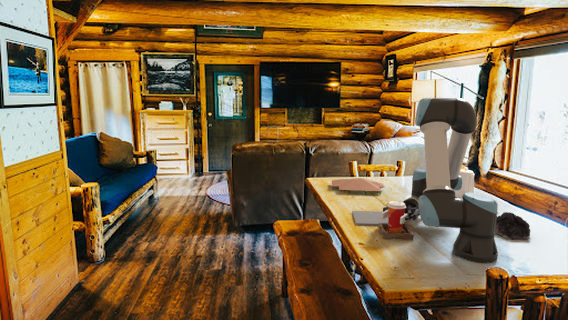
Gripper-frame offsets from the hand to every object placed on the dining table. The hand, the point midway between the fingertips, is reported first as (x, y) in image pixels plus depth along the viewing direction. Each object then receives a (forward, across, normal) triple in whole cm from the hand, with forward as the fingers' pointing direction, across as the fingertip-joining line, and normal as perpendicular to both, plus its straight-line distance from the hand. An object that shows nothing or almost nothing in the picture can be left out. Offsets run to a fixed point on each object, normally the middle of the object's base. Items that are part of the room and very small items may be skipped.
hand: (391, 218), depth 150 cm
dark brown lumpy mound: (-37, -39, -9) cm, 55 cm away
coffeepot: (-81, -9, -9) cm, 82 cm away
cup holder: (-5, 0, -8) cm, 10 cm away
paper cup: (-5, 0, -9) cm, 10 cm away
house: (-59, +48, -9) cm, 77 cm away
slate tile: (-16, +16, -8) cm, 24 cm away
